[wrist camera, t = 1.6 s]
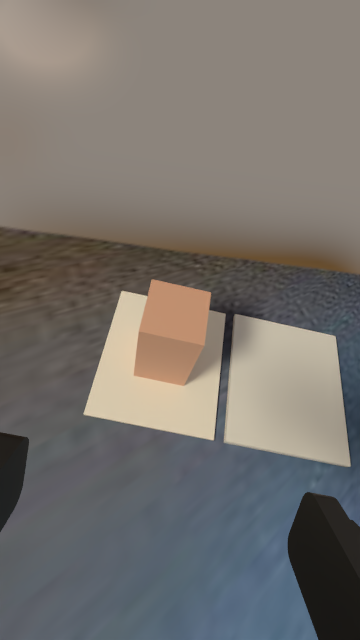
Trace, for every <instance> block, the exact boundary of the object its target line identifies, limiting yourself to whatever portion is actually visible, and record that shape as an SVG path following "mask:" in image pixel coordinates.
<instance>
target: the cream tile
mask: <svg viewBox="0 0 360 640" xmlns="http://www.w3.org/2000/svg"><path fill="white" fill-rule="evenodd" d="M147 297H148V296H143V295H139V294H134V293H130V292H125V291H122V292H121V295H120V299H119V302H118V305H117V308H116V311H115V315H114V318H113V321H112V324H111V328H110V331H109V334H108V337H107V340H106V344H105V347H104V350H103V353H102V356H101V360H100V363H99V366H98V369H97V373H96V376H95V379H94V382H93V385H92V389H91V392H90V395H89V398H88V401H87V405H86V408H85V411H84V415H87V416H92V417H97V418H102V419H107V420H112V421H117V422H122V423H127V424H132V425H137V426H142V427H147V428H152V429H157V430H162V431H167V432H173V433H178V434H183V435H188V436H193V437H198V438H203V439H208V440H214V433H215V422H216V412H217V401H218V390H219V380H220V369H221V358H222V348H223V337H224V326H225V316H226V314H224V313H220V312H215V311H211V310H209V313H208V321H207V329H206V337H205V345H204V347H203V349H202V351H201V353H200V355H199V357H198V359H197V361H196V363H195V365H194V367H193V369H192V371H191V373H190V375H189V377H188V379H187V380H186V382H185V384H184V386H181V385H176V384H172V383H167V382H162V381H157V380H152V379H147V378H143V377H138V376H134V367H135V358H136V350H137V341H138V333H139V328H140V324H141V320H142V316H143V312H144V308H145V305H146V301H147Z"/></svg>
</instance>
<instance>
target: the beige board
mask: <svg viewBox="0 0 360 640" xmlns="http://www.w3.org/2000/svg"><path fill="white" fill-rule="evenodd" d="M224 443H228V444H233V445H238V446H243V447H248V448H253V449H258V450H263V451H268V452H273V453H278V454H283V455H288V456H294V457H299V458H304V459H309V460H314V461H319V462H324V463H329V464H334V465H339V466H344V467H350V466H351V464H350V455H349V447H348V438H347V430H346V421H345V412H344V404H343V395H342V387H341V378H340V369H339V361H338V352H337V344H336V336H332V335H328V334H323V333H319V332H314V331H310V330H305V329H301V328H296V327H292V326H287V325H283V324H278V323H274V322H270V321H265V320H261V319H256V318H252V317H247V316H243V315H238V314H235V315H234V318H233V331H232V344H231V357H230V369H229V382H228V395H227V408H226V421H225V434H224Z"/></svg>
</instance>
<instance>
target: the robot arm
mask: <svg viewBox="0 0 360 640" xmlns="http://www.w3.org/2000/svg"><path fill="white" fill-rule="evenodd" d="M28 446H29V439H28V438H27V437H22V436H17V435H12V434H7V433H1V432H0V532H1V530H2V528H3V527H4V525H5V523H6V522H7V520H8V518H9V517H10V515H11V513H12V512H13V510H14V508H15V506H16V504H17V502H18V499H19V497H20V494H21V490H22V486H23V481H24V474H25V467H26V460H27V453H28ZM288 555H289V559H290V562H291V565H292V568H293V570H294V573H295V576H296V579H297V582H298V584H299V587H300V590H301V593H302V595H303V598H304V601H305V604H306V606H307V609H308V612H309V615H310V617H311V620H312V623H313V626H314V628H315V631H316V634H317V637H318V639H319V640H360V527H359V526H358V525H357V524H356V523H355V522H354V521H353V520H350V519H349V518H348V516H347V515H346V513H345V511H344V510H343V508H342V507H341V505H340V503H339V502H338V501H337V499H336V498H334V497H331V496H326V495H321V494H315V493H310V492H307V493H305V494H304V496H303V498H302V500H301V503H300V506H299V508H298V511H297V514H296V516H295V519H294V522H293V524H292V527H291V530H290V533H289V536H288Z"/></svg>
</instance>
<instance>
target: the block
mask: <svg viewBox="0 0 360 640" xmlns="http://www.w3.org/2000/svg"><path fill="white" fill-rule="evenodd" d="M210 298H211V292H206V291H202V290H197V289H193V288H188V287H184V286H180V285H175V284H171V283H166V282H162V281H157V280H153V279H152V281H151V285H150V289H149V293H148V297H147V301H146V305H145V308H144V312H143V316H142V320H141V324H140V328H139V333H138V341H137V350H136V358H135V367H134V376H138V377H143V378H147V379H152V380H157V381H162V382H167V383H172V384H176V385H181V386H184V384H185V382H186V380H187V379H188V377H189V375H190V373H191V371H192V369H193V367H194V365H195V363H196V361H197V359H198V357H199V355H200V353H201V351H202V349H203V347H204V345H205V337H206V329H207V321H208V313H209V305H210Z"/></svg>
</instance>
